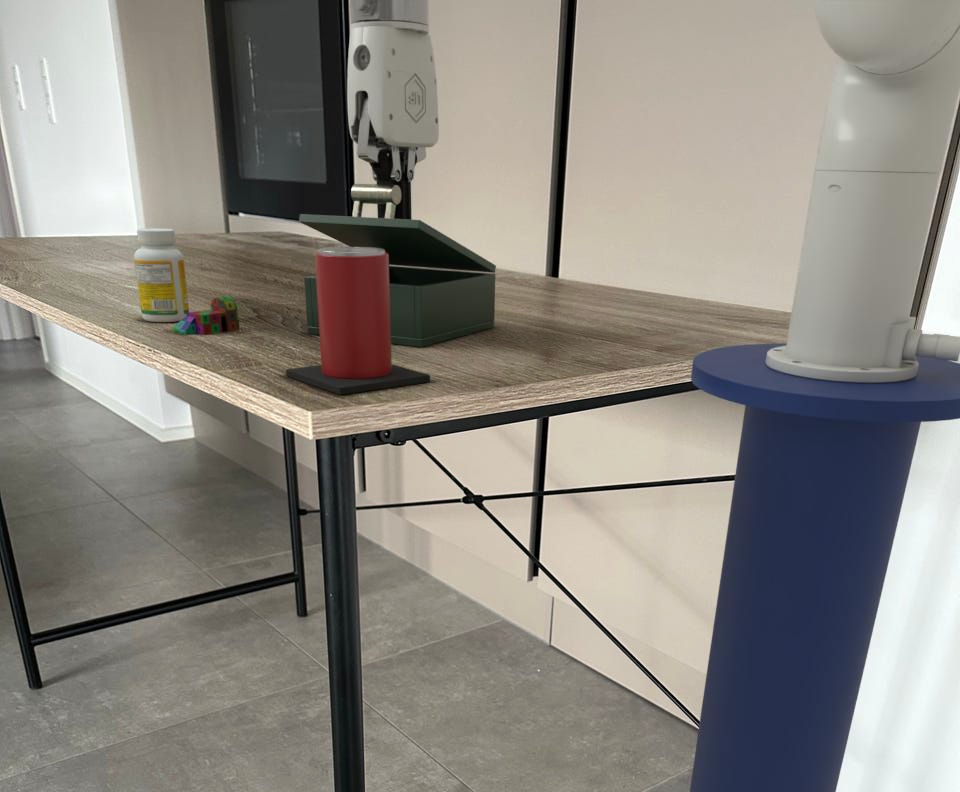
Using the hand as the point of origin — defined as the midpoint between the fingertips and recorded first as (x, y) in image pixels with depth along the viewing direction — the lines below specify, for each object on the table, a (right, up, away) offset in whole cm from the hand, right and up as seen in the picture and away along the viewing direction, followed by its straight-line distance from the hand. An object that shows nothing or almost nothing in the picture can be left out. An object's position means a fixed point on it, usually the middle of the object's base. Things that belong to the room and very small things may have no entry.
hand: (394, 223), depth 98 cm
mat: (-2, -21, -17) cm, 27 cm away
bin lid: (0, -2, +2) cm, 3 cm away
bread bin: (0, -9, +6) cm, 11 cm away
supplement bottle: (-28, -7, +11) cm, 30 cm away
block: (-21, -10, +4) cm, 24 cm away
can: (-2, -21, -18) cm, 27 cm away
